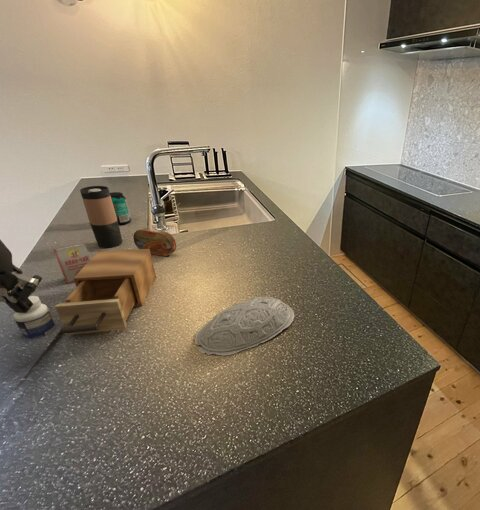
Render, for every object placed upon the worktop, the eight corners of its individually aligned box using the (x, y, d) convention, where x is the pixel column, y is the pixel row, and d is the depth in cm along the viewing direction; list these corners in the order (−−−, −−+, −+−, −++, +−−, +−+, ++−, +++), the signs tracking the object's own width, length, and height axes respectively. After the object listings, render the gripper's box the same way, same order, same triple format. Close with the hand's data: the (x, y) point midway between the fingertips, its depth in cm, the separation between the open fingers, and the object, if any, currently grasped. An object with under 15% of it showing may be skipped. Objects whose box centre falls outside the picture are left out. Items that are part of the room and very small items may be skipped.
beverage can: (118, 218, 129) (111, 191, 124) (135, 220, 129) (128, 192, 124) (106, 224, 123) (98, 195, 117) (124, 226, 123) (116, 197, 117)
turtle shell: (307, 320, 79) (304, 298, 76) (210, 371, 64) (203, 346, 61) (276, 297, 89) (273, 277, 87) (187, 336, 75) (180, 313, 72)
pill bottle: (25, 335, 68) (7, 299, 64) (57, 325, 71) (41, 291, 67) (27, 349, 65) (8, 312, 60) (60, 337, 68) (44, 302, 64)
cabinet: (142, 305, 80) (133, 274, 76) (85, 310, 77) (73, 278, 72) (156, 277, 92) (149, 248, 88) (107, 280, 89) (98, 250, 85)
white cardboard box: (65, 278, 88) (52, 247, 84) (93, 271, 93) (83, 241, 88) (66, 283, 86) (54, 252, 81) (96, 276, 90) (86, 246, 86)
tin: (135, 250, 106) (129, 228, 102) (142, 247, 108) (137, 225, 105) (173, 258, 103) (168, 235, 99) (179, 254, 106) (175, 232, 102)
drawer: (117, 344, 66) (107, 316, 63) (54, 352, 63) (40, 322, 60) (142, 295, 82) (136, 270, 79) (93, 299, 79) (83, 274, 76)
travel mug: (121, 237, 114) (107, 184, 105) (125, 245, 109) (110, 190, 100) (96, 242, 109) (78, 187, 100) (98, 250, 104) (80, 193, 95)
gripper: (-114, 257, 43) (-31, 323, 55) (-7, 265, 45) (51, 328, 57) (-66, 224, 49) (0, 291, 61) (28, 232, 50) (74, 296, 62)
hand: (25, 309), depth 59 cm, fingers closed
